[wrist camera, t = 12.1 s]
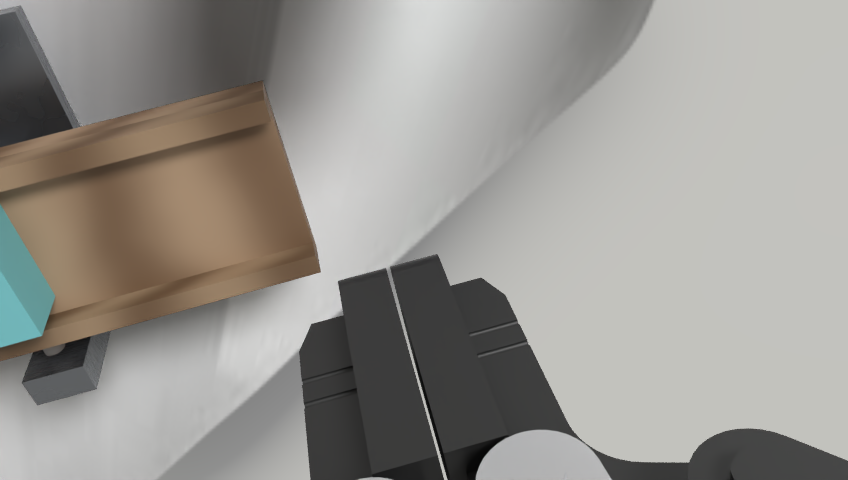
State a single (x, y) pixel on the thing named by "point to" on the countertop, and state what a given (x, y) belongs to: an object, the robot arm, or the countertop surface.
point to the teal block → (20, 289)
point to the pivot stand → (24, 120)
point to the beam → (156, 213)
